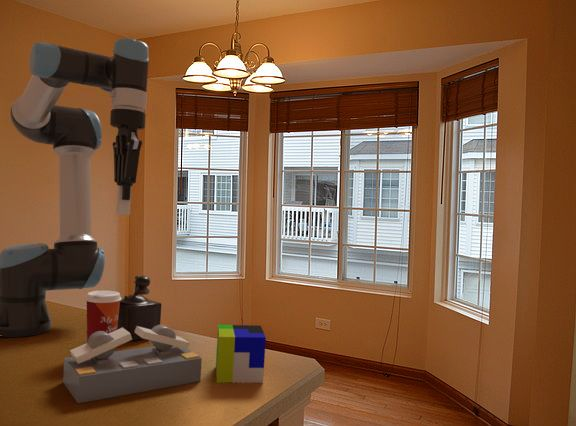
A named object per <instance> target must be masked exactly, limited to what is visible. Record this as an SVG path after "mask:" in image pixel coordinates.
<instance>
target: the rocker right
mask: <svg viewBox="0 0 576 426" xmlns="http://www.w3.org/2000/svg"><path fill="white" fill-rule="evenodd" d="M134 333H136V334H137V335H139V336H140V337H141V338H143V340H148V341H149V343H150V344H151V345H152V347H153V346H155V347H156V348H158V349H159V350H161V351H166V350H169V349H170V348H171V347H172V346H177V347H182V348H186V349H188V350H189V346H190V341H188V340H186V339H184V338H182V337H181V336H178V335H177V334H176V333H175V331H174V330H172V329H171V328H169V327H168V326H166V325H165V324H160V325H157V326H155V327H153V328H152V329H147V328H142V327H138V326H136V329H135V332H134Z"/></svg>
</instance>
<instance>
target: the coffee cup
mask: <svg viewBox="0 0 576 426" xmlns="http://www.w3.org/2000/svg"><path fill="white" fill-rule="evenodd" d="M121 299H123V298H122V297H121V293H120V292H118V291H116V290H115V291H113V290H93V291H89V292H88V293H87V295H86V297H85V301H86V342H87V341H88V339H89V337H90V336H91V335H92V334H93V333H95V332H97V331H104V332H106V333H108V334H109V333H111V332H113V331H116V330H117V324H118V315H119V306H120V300H121Z"/></svg>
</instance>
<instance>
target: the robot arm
mask: <svg viewBox="0 0 576 426" xmlns="http://www.w3.org/2000/svg"><path fill="white" fill-rule="evenodd" d="M112 53H113V55H112V56H109V55H104V54H100V53H94V52H90V51H84V50H80V49H75V48H70V47H67V46H62V45H58V44H56V43H49V42H42V41H36V42H34V43H33V44H32V46H31V49H30V54H29V70H30V73H31V74H32V75H31V77H30V79H29V81H28V83H27V85H26V87H25V89H24V91H23V93H22V95H21V96H18V97H17V98H16V99H15V100H14V101H13V103H12V105H11V108H10V110H9V113H10V120H11V122H12V124H13V126H14V127H15V129H16V131H18V132H19V134H20V135H22V136H23V137H24V138H27V139H28V140H30V141H32V142H35V143H38V144H45V145H52V147H53V151H52V152H53V153H54V154H55V155H56V156H57V157H58V176H59V177H58V182H59V183H58V184H59V185H58V186H59V188H58V191H59V192H58V193H59V199H58V200H59V201H58V202H59V204H58V205H59V207H58V208H59V237H58V238H57V239H56V240H55V241H54V243H53V248H49V246H48V244H47V243H42V242H41V243H40V242H39V243H26V244H19V245H18V244H17V245H13V246H8V247H6V248H4V249H2V250H0V251H1V252H0V335H2V336H3V337H2V338H23V337H31V336H37V335H41V334H44V333H47V332H49V331H50V330H51V329H52V319H51V316H50V312H49V309H48V305H47V302H46V295H47V294H46V293H47V291H61V290H63V291H64V290H76V289H77V290H83V289H90V288H94V287H96V286H97V285H99V283H100V281H102V280H101V279H102V278H103V274H104V271H105V270H104V269H105V263H106V262H105V261H106V255H105V251H104V249H102V248H101V247H98V241H97V239H95V238H94V237H93V236H92V188H91V183H92V182H91V158H92V157H93V156H94V155H95V154H96V150H98V149H99V148H100V147H101V145H102V137H103V130H102V129H103V128H102V123H101V120H100V118H99V116H98V115H97V113H95V112H94V111H93V110H88V109H84V108H82V107H81V108H80V107H79V108H76V107H71V106H64V105H56V103H57V102H58V100H59V98H60V97H61V96H62V94H63V92H64V91H65V89H66V88H67V86H68V85H69V83H72V84H73V83H74V84H78V85H84V86H89V87H95V88H99V89H101V90H102V91H104V92H106V93H107V92H108V93H109V96H110V98H111V104H110V107H112V110H111V111H110V116H109V117H110V119H109V121H110V122H109V124H110V126H111V127H113V128H117V134H116V136H115V141H113V142H112V149H113V173H114V175H113V176H114V177H113V178H114V179H113V181H114V183H116V186H117V191H116V209H115V211H116V212H115V214H116V215H120V216H131V207H132V188H133V185H134V184H136V183H137V175H138V168H139V161H140V160H139V159H140V153H141V148H142V145H143V141H142V140H141V139H139V135H138V134H139V133H138V131H141V130H144V129H145V128H146V114H145V111H146V110H147V99H148V93H147V91H148V89H147V88H148V74H149V62H150V58H149V55H150V54H149V46H148V45H147V43H145V42H143V41H141V40H138V39H134V38H130V37H129V38H128V37H127V38H126V37H122V38H118V39H116V40H115V41H114V44H113V50H112Z"/></svg>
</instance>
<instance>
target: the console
mask: <svg viewBox="0 0 576 426" xmlns="http://www.w3.org/2000/svg"><path fill="white" fill-rule="evenodd" d="M201 375H202V357H201V356H200V355H198V353H195V352H194V351H192V350H190V349H189V348H188V349H186V348H182V347H177V346H172V347H171V348H170V349H169V350H166V351H161V350H159V349H158V348H156V347H155V346H153V345H152V346H148V347H147V346H146V347H139V348H130V349H125V350H124V349H123V350H115V351H114V353H113V354H112V355H111V356H110V357H108V358H106V359H98V358H96V357H93V358H90V359H88V360H86V361H84V362H82V363H79V364H78V363H77V362H76V361H75V359H74V358H73V357H72V356H70V357H64V358H63V379H62V383H63V385H64V386H65V387H66V389H67V390H68V391H69V393H70V394H71V396H72V397H73V399H74V400H75V402H76V403H77V404H82V403H88V402H94V401H99V400H104V399H110V398H115V397H120V396H122V397H123V396H126V395H132V394H136V393H137V394H138V393H142V392H148V391H154V390H159V389H164V388H170V387H176V386H182V385H187V384H192V383H197V382H201V377H202V376H201Z"/></svg>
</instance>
